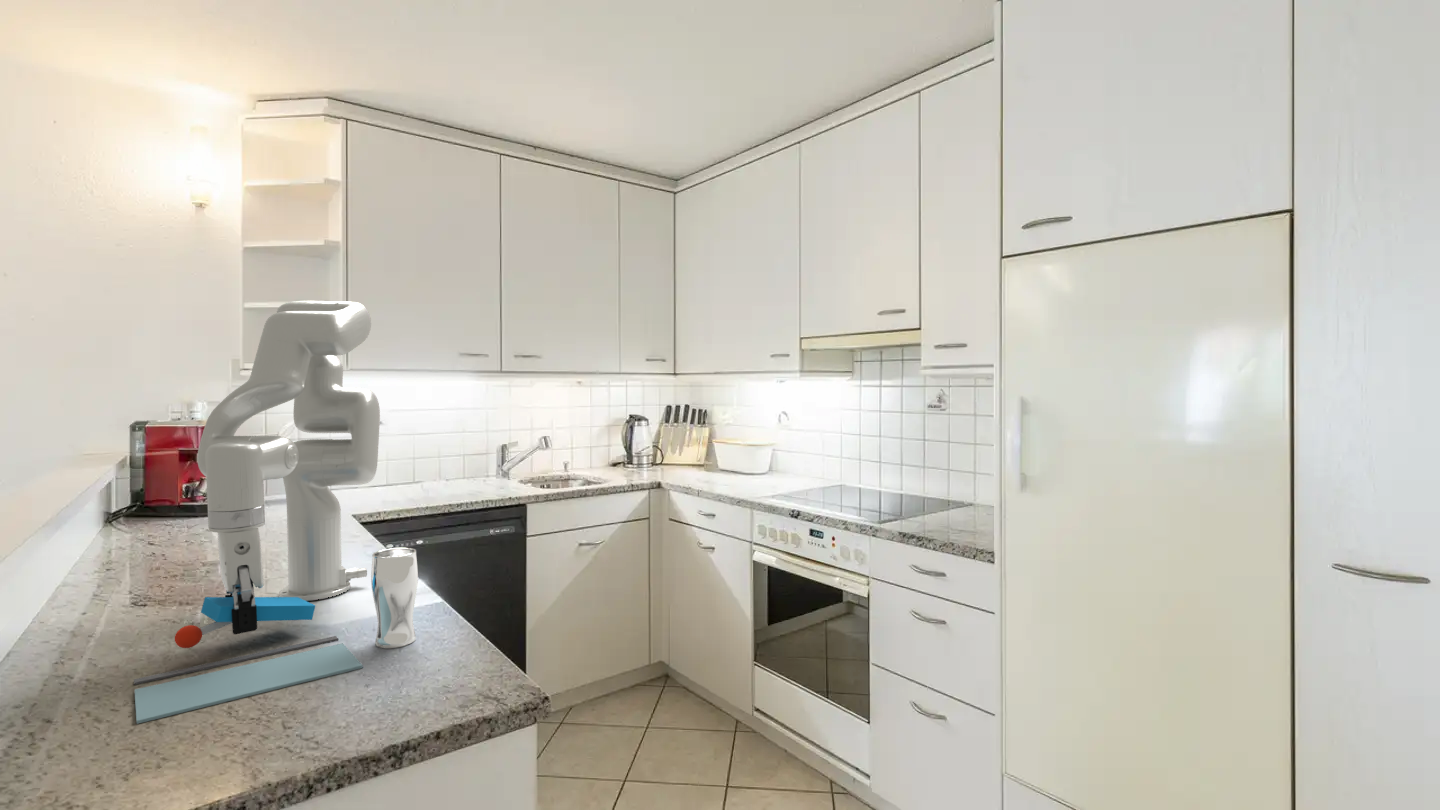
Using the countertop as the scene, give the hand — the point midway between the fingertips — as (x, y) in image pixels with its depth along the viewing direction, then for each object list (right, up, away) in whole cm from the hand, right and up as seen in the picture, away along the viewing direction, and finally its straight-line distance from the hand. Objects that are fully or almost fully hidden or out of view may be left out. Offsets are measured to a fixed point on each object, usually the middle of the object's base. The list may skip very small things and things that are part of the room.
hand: (241, 623), depth 112 cm
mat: (+11, -4, -13) cm, 17 cm away
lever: (0, -2, +1) cm, 2 cm away
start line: (+4, -4, -5) cm, 8 cm away
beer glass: (+24, -4, +2) cm, 25 cm away
